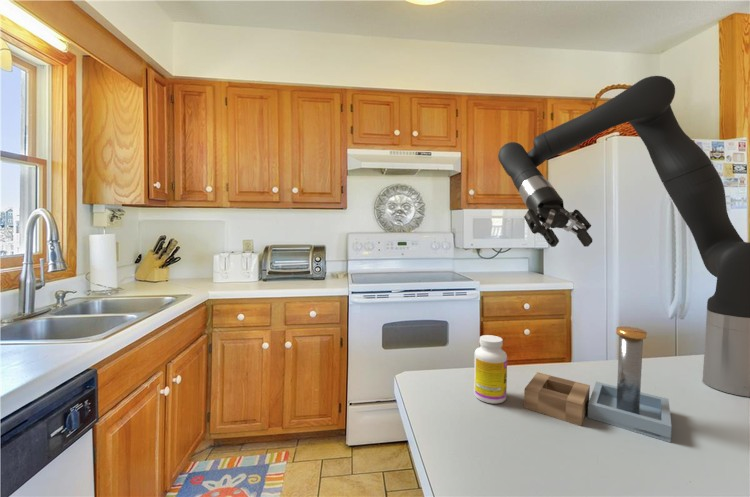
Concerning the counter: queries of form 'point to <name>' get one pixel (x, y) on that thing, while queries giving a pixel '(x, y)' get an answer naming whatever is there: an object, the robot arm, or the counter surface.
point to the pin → (629, 368)
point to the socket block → (557, 398)
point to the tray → (648, 422)
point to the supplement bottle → (490, 370)
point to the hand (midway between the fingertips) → (572, 244)
